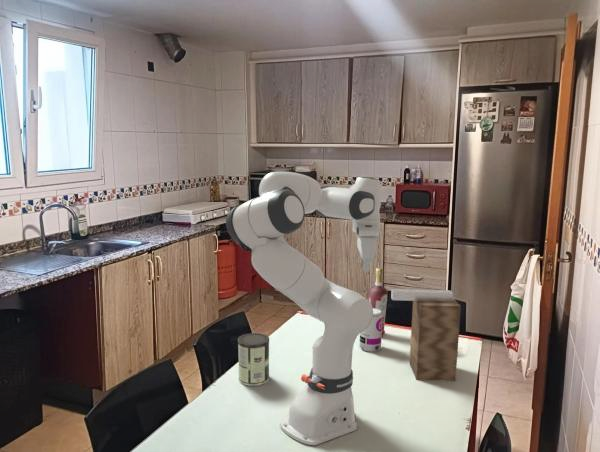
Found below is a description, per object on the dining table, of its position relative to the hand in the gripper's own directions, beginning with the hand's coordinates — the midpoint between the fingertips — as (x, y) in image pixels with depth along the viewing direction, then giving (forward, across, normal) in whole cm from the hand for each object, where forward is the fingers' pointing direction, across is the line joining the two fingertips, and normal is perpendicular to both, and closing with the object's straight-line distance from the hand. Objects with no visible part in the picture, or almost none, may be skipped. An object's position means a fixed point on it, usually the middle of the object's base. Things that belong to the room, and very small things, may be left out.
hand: (364, 267), depth 165 cm
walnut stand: (+37, -2, +25) cm, 45 cm away
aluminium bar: (+11, -2, +20) cm, 23 cm away
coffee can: (+37, +6, -36) cm, 52 cm away
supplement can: (+37, -21, +6) cm, 43 cm away
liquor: (+37, -35, +10) cm, 52 cm away
